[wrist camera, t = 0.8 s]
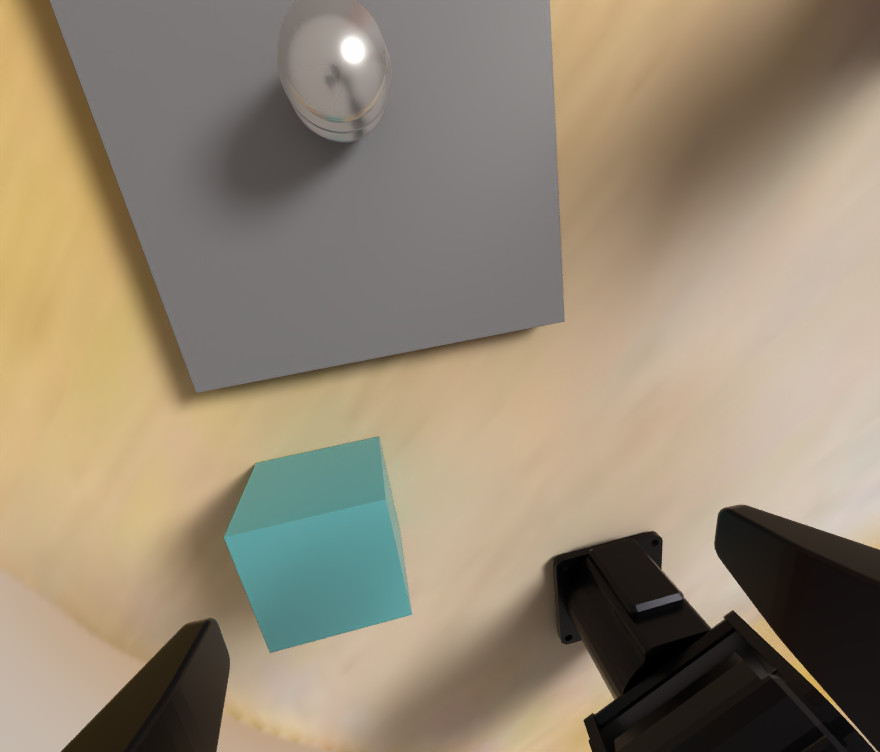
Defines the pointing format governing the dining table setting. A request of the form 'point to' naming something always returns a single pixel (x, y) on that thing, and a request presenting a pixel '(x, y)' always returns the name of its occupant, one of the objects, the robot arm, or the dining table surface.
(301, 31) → the silver cabinet knob
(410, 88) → the base plate
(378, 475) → the turquoise cube
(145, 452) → the dining table surface
